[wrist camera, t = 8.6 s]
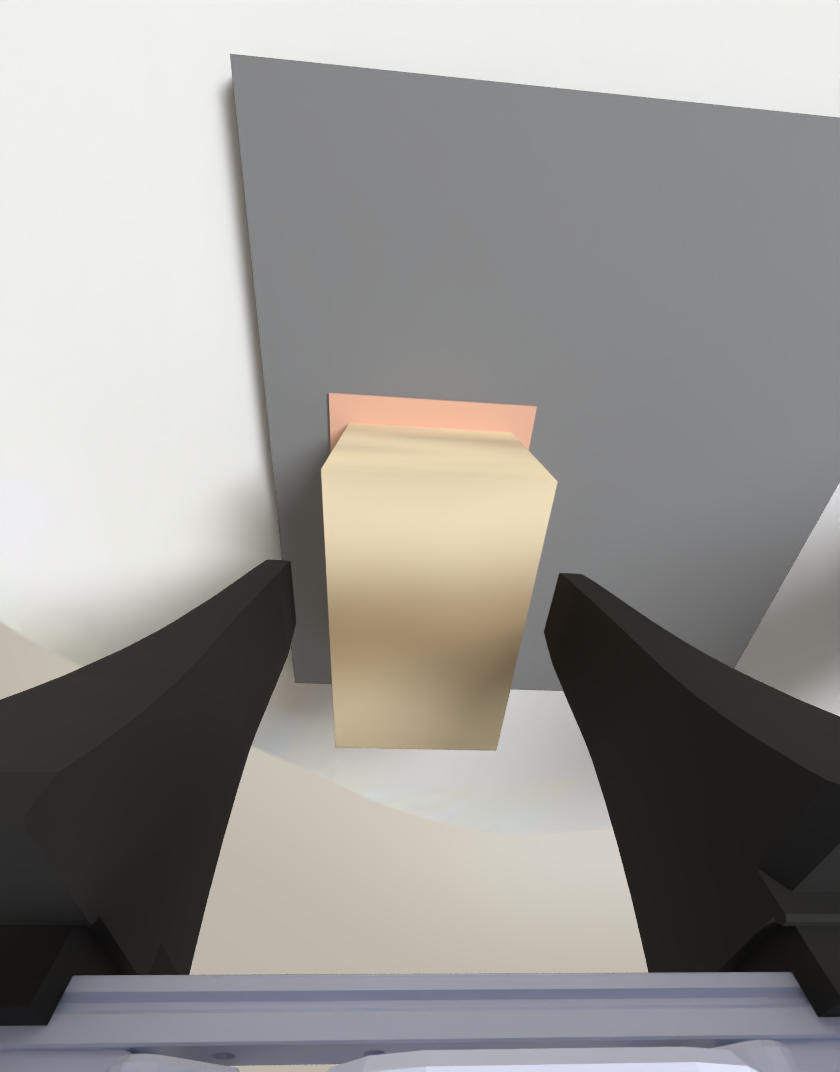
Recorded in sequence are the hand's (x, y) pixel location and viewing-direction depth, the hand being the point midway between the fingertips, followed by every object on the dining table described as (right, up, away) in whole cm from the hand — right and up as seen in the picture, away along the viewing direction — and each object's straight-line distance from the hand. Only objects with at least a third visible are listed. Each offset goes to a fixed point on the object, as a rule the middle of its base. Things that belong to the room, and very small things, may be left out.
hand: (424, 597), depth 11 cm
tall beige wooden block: (0, +1, +2) cm, 2 cm away
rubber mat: (+4, +3, +2) cm, 6 cm away
